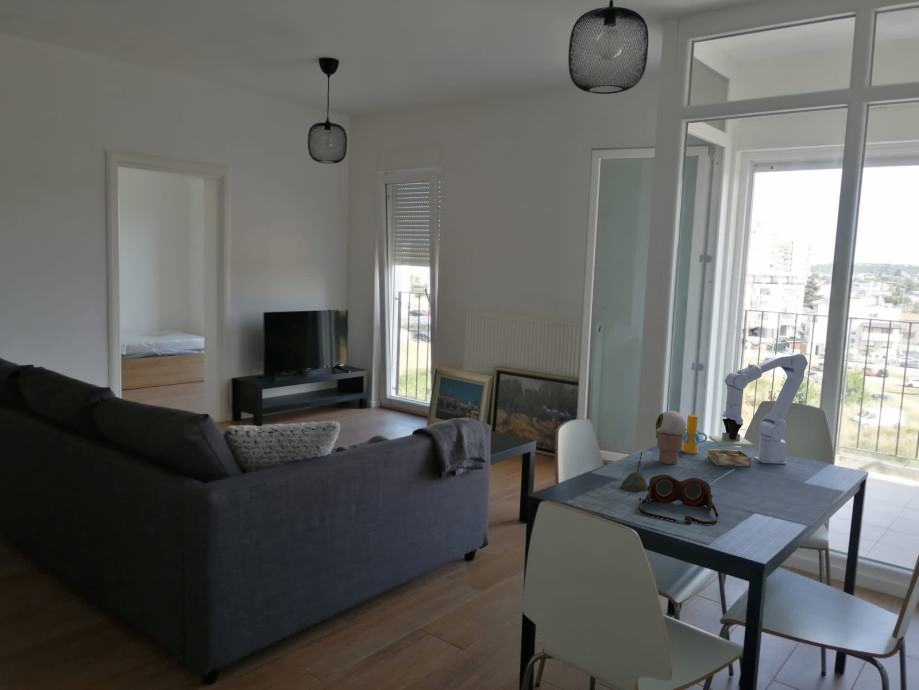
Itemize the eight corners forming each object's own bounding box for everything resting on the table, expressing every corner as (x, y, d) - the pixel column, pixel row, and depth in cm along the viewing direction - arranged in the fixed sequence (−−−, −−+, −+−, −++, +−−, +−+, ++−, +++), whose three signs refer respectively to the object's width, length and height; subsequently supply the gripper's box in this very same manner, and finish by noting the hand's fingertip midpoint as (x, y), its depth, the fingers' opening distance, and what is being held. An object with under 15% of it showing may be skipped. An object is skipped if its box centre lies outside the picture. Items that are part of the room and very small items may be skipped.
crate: (740, 459, 282) (741, 450, 282) (750, 466, 272) (751, 457, 272) (707, 457, 282) (708, 449, 282) (716, 464, 272) (717, 455, 272)
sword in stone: (637, 494, 233) (638, 458, 232) (616, 489, 238) (618, 454, 237) (653, 488, 240) (655, 453, 239) (633, 483, 245) (634, 449, 244)
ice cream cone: (647, 458, 276) (651, 408, 274) (671, 457, 280) (676, 407, 277) (663, 466, 266) (667, 414, 264) (688, 465, 270) (692, 413, 267)
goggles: (646, 522, 207) (649, 489, 206) (624, 497, 230) (628, 467, 229) (728, 528, 208) (732, 495, 207) (699, 502, 231) (702, 472, 230)
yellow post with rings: (670, 447, 295) (673, 412, 293) (694, 447, 297) (697, 412, 295) (685, 456, 283) (688, 419, 281) (709, 455, 285) (712, 419, 283)
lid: (742, 441, 282) (743, 431, 281) (752, 448, 271) (754, 437, 271) (708, 439, 281) (709, 429, 281) (717, 446, 271) (719, 436, 271)
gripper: (716, 399, 282) (714, 433, 283) (730, 407, 267) (727, 442, 269) (734, 400, 282) (731, 434, 283) (749, 408, 267) (746, 443, 269)
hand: (731, 438), depth 276 cm, fingers closed on lid, 2 cm apart
